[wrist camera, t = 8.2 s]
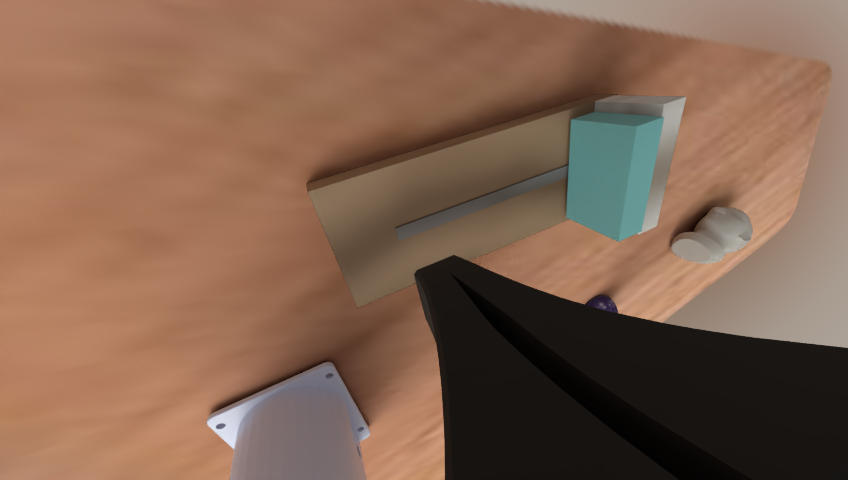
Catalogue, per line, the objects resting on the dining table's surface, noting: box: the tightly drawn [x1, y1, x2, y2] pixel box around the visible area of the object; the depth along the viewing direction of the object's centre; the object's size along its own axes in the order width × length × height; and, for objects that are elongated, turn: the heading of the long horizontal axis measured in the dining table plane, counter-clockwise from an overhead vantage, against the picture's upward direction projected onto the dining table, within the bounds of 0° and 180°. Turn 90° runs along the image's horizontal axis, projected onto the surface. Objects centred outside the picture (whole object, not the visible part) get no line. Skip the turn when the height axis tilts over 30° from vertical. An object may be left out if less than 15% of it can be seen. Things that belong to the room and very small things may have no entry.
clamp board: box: [307, 94, 686, 308], centre depth 17 cm, size 8×19×6 cm, turn 102°
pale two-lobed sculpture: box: [671, 207, 753, 264], centre depth 30 cm, size 4×8×5 cm
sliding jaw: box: [566, 112, 664, 242], centre depth 18 cm, size 6×2×4 cm, turn 12°
